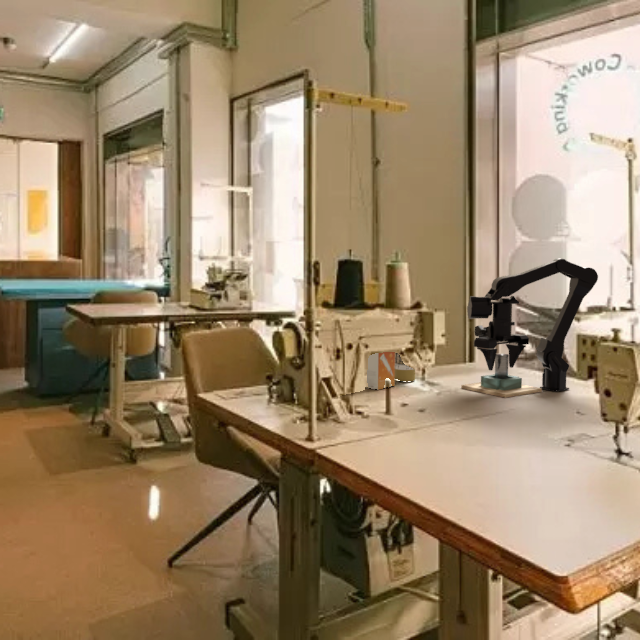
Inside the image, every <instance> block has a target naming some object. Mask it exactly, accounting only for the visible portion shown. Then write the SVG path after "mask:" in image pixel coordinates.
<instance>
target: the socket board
mask: <svg viewBox="0 0 640 640" xmlns="http://www.w3.org/2000/svg"><path fill="white" fill-rule="evenodd" d="M522 381H523V378H522V377H520V376H517V375H516V376H515V375H510V374H508V378H507V379H498V378H495V373H493V374H486V375H481V376H480V382H474V383H467V384H461V389H464V390H468V391H473V392H478V393H482V394H487V395H492V396H496V397H500V398H505V399H507V398H511V397H517V396H522V395H531V394H535V393H541V392H543V391H542V390H543V389H542V388H540V387H536V386H531V385H526V384H523V383H522Z"/></svg>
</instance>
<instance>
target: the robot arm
mask: <svg viewBox="0 0 640 640" xmlns="http://www.w3.org/2000/svg"><path fill="white" fill-rule="evenodd" d="M559 273H560V274H562V275H564V276H565V277H567V278H570V280H569V287H568V288H569V289H568V294H567V296H566V299H565V301H564V303H563V305H562V307H561V310H560V312H559V314H558V315H557V319H556V320H555V323H554V325H553V327H552V329H551V332H550V334H549V335H548V336H547V337H545V338H544V337H541V338H540V339H539V344H538V345H537V347H536V348H535V350H537V351H536V357H537V360H538V361H539V362H541V364H542V367H543V370H542V371H543V373H542V376H541V378H542V379H541V381H542V382H541V386H540V387H539V388H542V390H546V391H549V392H550V391H551V392H560V391H561V392H562V391H568V390H570V387H568V386H567V372H568V371H569V368H570V364H568V362H567V361H566V360H565V359H564V358H563V356H564V352H565V339H566V337H567V335H568V333H569V331H570V329H571V326H572V324H573V322H574V319H575V318H576V315H577V314H578V310H579V309H580V306H581V305H582V302H583V300H584V298H585V297H587V295H588V294H589V293H590V292H591V291H592V289H593V288H594V286H595V285H596V283H597V282H598V280H599V274H598V273H597V271H596V269H594V268H592V267H588V266H587V267H586V266H585V267H584V266H581V265H579V264H576V263H572V262H570V261H568V260H567V259H565V258H555V259H553V260H552V261H549V262H546V263H544V264H541V265H539V266H536V267H534V268H531V269H528V270H525V271H524V272H520V273H516V274H510V275H505V276H499V277H496V278H495V279H494V280H492V283H491V288H490V289H489V290H488V291H487V293H486V294H485V296H475V295H473V296H472V295H470V296H469V300H468V303H467V307H466V309H467V311H466V312H467V318H468V319H470V320H471V319H488V318H489V317H490V316H492V320H490V321H489V322H488V326H483V325H476V326H474V335H475V337H476V338H474V340H473V347H475V348H476V349H477V350H479V351H481V353H482V355H483V356H484V358H485V359H484V360H485V362H486V365H487V368H488V370H489V371H493V369H494V367H495V357H496V354H498V353H497V352H498V348H496V347H498V346H497V345H504V344H505V346H506V348H507V350H508V355H509V357H508V367H509V368H514V366H515V364H516V363H517V360H518V358H519V357H520V355H521V353H522V352H523V350H524V348H527V345H529V344H530V343H529V342H530V338H529V337H528V335H527V334H523V333H522V334H519V333H512V327H513V326H515V325H516V323H515V321H512V319H513V305H516V304H517V305H519V304H520V301H519V300H517V298H516V297H515V295H513V294H515V293H517V292H519V291H520V290H521V289H522V288H523V287H525V286H528V285H530V284H533V283H536V282H537V281H540V280H543V279H546V278H548V277H552V276H554V275H555V274H559ZM503 297H504V298H503Z"/></svg>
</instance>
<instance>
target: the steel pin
mask: <svg viewBox="0 0 640 640" xmlns="http://www.w3.org/2000/svg"><path fill="white" fill-rule="evenodd" d="M494 374H495V378H498V379H507V378H508V375H509V353H496V357H495V362H494Z"/></svg>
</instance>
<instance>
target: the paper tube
mask: <svg viewBox="0 0 640 640" xmlns="http://www.w3.org/2000/svg"><path fill="white" fill-rule="evenodd" d="M395 379H398V380H400V381H406V382H405V383H409V382H408V381H412V382H415V380H416V368H415V369H413V368H411V367H409V366H407V365H405V364H404V363H403V361H402V359H401V357H400V355H399V354H398V353H395Z"/></svg>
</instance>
